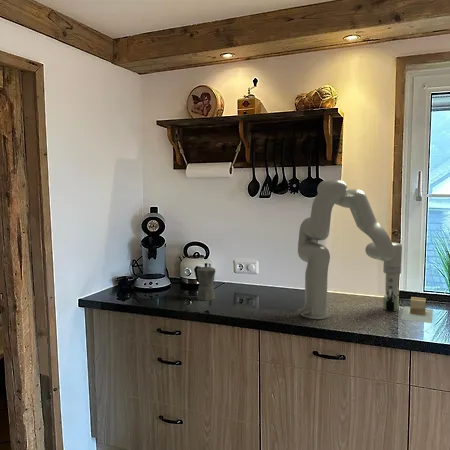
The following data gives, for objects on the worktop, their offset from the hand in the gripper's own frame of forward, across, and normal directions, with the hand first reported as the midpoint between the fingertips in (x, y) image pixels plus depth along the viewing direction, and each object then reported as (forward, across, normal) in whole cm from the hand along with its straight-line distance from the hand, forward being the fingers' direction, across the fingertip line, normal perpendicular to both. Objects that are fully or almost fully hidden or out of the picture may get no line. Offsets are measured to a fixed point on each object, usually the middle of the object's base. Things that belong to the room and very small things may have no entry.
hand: (390, 307), depth 202 cm
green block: (+1, 0, 0) cm, 1 cm away
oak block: (0, -1, -11) cm, 11 cm away
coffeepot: (+1, -20, +86) cm, 88 cm away
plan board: (+1, -4, -11) cm, 12 cm away
